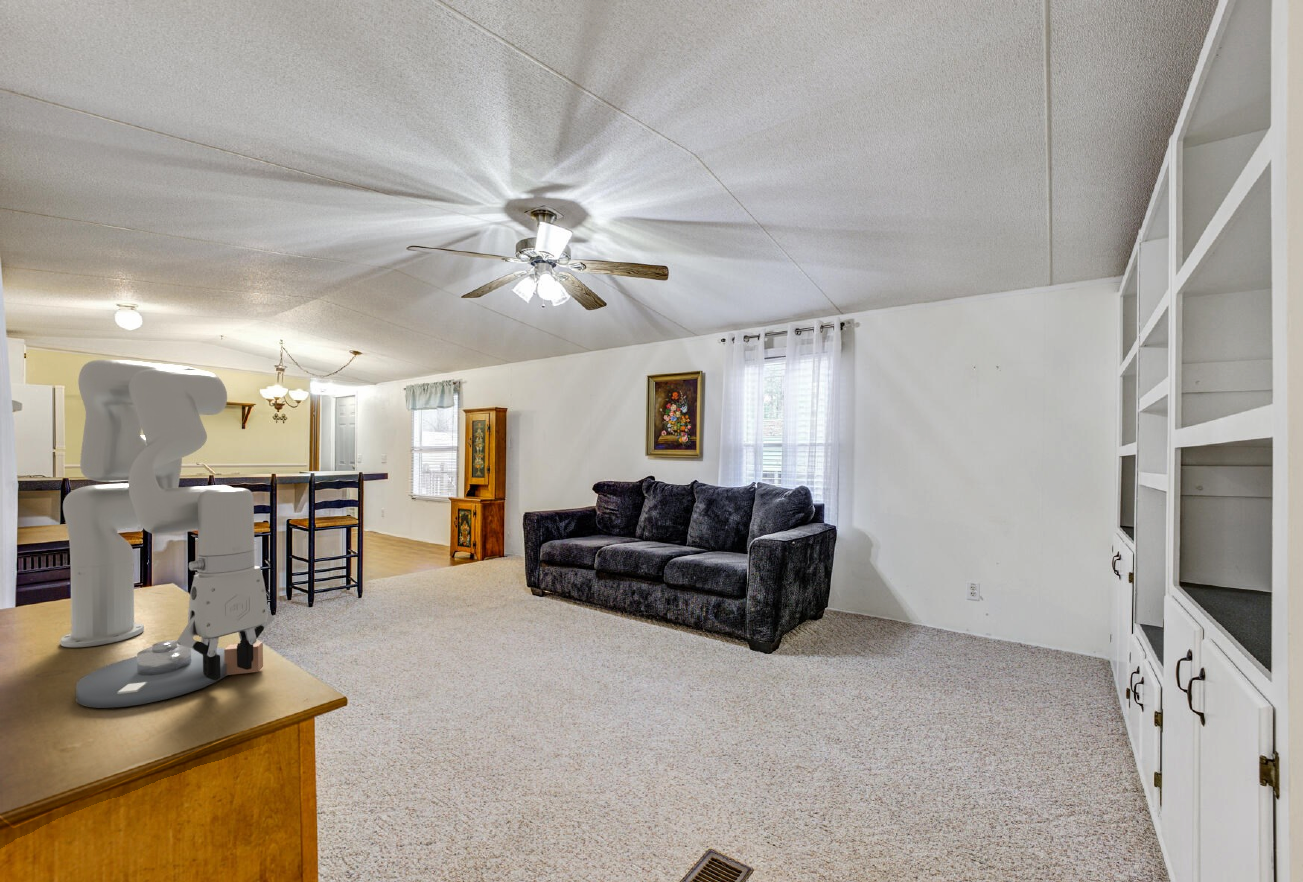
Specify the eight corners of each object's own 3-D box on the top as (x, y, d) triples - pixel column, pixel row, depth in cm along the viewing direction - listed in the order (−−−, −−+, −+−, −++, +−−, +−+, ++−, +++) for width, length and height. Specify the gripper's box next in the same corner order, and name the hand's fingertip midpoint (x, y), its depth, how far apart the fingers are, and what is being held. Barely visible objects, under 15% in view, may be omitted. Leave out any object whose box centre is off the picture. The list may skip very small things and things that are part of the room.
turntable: (43, 716, 85) (42, 686, 85) (119, 665, 104) (119, 640, 104) (240, 692, 93) (239, 665, 93) (277, 649, 112) (277, 626, 112)
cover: (128, 678, 94) (128, 653, 94) (149, 662, 100) (148, 639, 100) (181, 672, 96) (181, 648, 96) (198, 657, 103) (197, 634, 103)
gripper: (178, 575, 88) (180, 697, 88) (291, 555, 102) (293, 659, 102) (154, 571, 91) (156, 688, 91) (267, 552, 106) (268, 653, 106)
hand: (229, 672), depth 97 cm, fingers open, 4 cm apart
